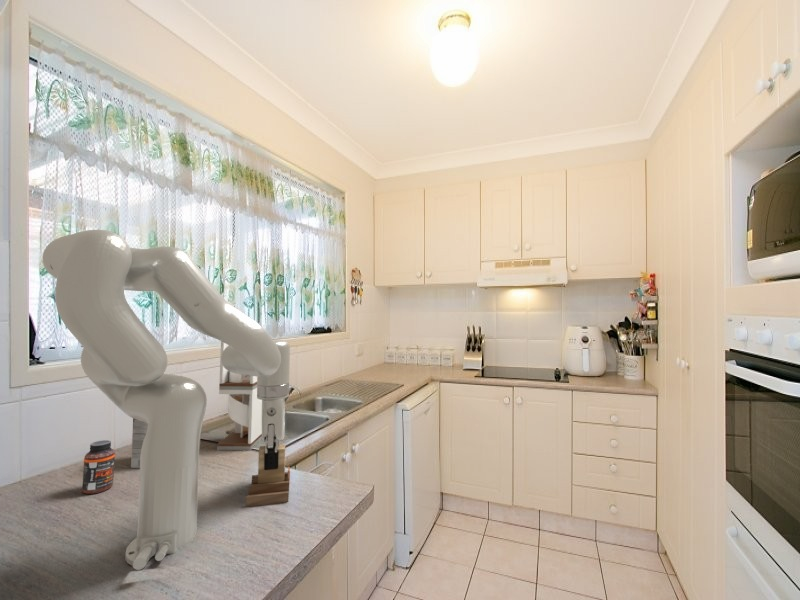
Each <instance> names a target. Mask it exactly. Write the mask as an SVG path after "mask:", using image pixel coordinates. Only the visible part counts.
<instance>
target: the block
mask: <svg viewBox="0 0 800 600" xmlns="http://www.w3.org/2000/svg"><path fill="white" fill-rule="evenodd" d="M277 451H279V454H278V469H272V470H264V453H265V445H262V446H261V445H260V446H259V449H258V461H257V463H258V465H257V466H258V469H257V475H258V484H263V483H273V482H283V481H284V478H285V472H286V470H285V469H286V444H284V443H283V444H278V447H277Z"/></svg>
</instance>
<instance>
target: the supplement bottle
mask: <svg viewBox="0 0 800 600" xmlns="http://www.w3.org/2000/svg"><path fill="white" fill-rule="evenodd" d="M111 441H112V440H107V439H105V440H104V439H103V440H98V441H94V442H92V443H90V445H89V451H88V452H87V453H86V454H85V456H84V457H83V458H84V459H83V460H84V461H83V473H82V486H81V488H82V490H81V491H82V492H83V493H84V494H88V495H93V494H99V493H102V492H105V491H107V490H110V488H112V487H113V486H114V477H115V460H116V452H115V450H114V448H111V446H112V442H111Z"/></svg>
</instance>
